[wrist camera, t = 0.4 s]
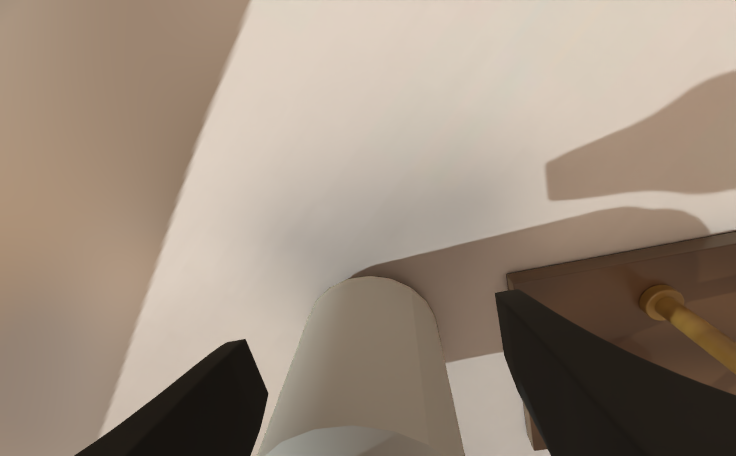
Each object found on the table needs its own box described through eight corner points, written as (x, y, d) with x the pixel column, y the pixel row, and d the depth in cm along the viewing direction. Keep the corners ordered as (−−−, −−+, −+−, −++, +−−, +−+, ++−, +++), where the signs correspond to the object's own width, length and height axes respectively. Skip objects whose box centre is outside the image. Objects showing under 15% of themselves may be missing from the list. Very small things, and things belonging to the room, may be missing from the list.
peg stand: (764, 404, 22) (1000, 594, 13) (527, 434, 24) (603, 619, 15) (791, 220, 18) (1144, 326, 10) (506, 273, 20) (592, 401, 11)
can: (287, 337, 22) (180, 587, 11) (354, 244, 20) (307, 439, 8) (387, 394, 23) (387, 678, 12) (462, 313, 21) (550, 568, 9)
